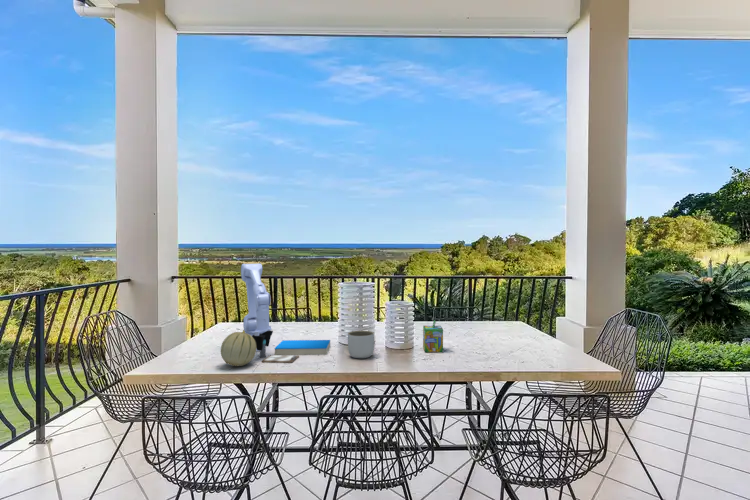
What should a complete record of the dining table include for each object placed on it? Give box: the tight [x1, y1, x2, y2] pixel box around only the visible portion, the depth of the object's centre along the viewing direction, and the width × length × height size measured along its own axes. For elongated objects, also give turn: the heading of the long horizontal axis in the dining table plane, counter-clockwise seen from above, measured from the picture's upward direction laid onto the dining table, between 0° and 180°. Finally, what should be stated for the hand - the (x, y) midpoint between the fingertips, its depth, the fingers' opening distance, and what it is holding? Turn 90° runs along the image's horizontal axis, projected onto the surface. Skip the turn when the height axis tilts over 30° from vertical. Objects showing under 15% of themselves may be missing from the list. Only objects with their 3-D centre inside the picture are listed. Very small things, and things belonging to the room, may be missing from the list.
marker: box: [259, 340, 267, 359], centre depth 179 cm, size 3×3×8 cm
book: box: [274, 339, 331, 356], centre depth 191 cm, size 17×4×25 cm
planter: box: [347, 330, 375, 359], centre depth 179 cm, size 12×12×11 cm
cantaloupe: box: [220, 329, 257, 367], centre depth 166 cm, size 15×15×15 cm
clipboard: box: [261, 354, 300, 364], centre depth 175 cm, size 14×10×1 cm
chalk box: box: [422, 319, 444, 353], centre depth 189 cm, size 9×9×15 cm
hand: (262, 348), depth 179 cm, fingers open, 7 cm apart
